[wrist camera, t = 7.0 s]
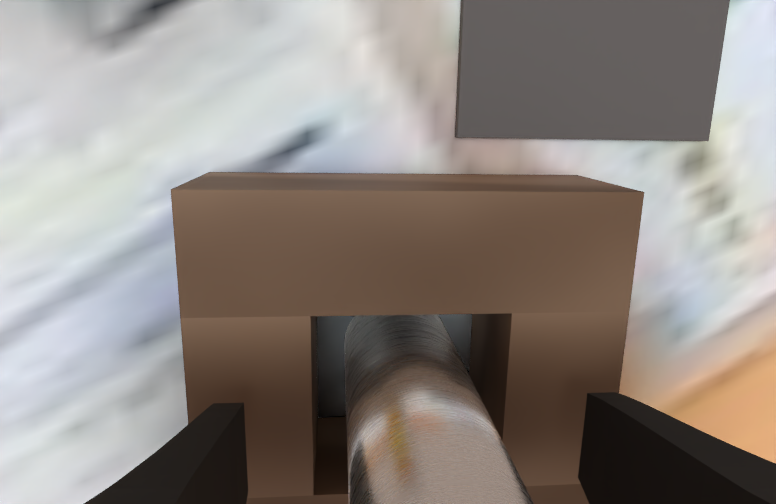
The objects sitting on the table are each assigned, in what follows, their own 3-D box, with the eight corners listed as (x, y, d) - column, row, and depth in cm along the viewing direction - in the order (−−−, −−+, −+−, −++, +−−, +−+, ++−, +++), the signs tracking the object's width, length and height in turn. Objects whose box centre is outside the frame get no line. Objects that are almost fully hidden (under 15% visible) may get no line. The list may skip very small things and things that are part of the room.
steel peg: (442, 391, 17) (555, 688, 8) (342, 390, 16) (348, 699, 8) (450, 295, 16) (583, 510, 7) (345, 294, 16) (355, 514, 7)
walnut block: (546, 488, 18) (595, 575, 15) (228, 501, 17) (201, 598, 14) (577, 175, 16) (644, 192, 12) (209, 172, 15) (170, 189, 11)
